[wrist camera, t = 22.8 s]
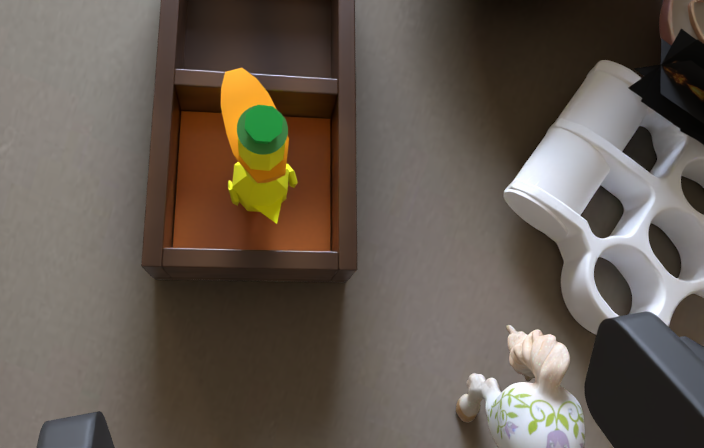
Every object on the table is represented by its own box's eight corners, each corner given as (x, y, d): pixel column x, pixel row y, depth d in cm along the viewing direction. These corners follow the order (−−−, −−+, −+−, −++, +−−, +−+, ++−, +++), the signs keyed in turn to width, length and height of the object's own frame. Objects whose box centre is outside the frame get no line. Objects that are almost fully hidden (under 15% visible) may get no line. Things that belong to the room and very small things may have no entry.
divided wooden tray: (153, 279, 36) (141, 266, 32) (176, -43, 41) (167, -90, 37) (346, 282, 38) (357, 270, 33) (344, -28, 43) (354, -72, 39)
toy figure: (209, 144, 37) (189, 39, 26) (267, 128, 38) (273, 18, 27) (245, 251, 36) (241, 190, 25) (304, 232, 37) (327, 164, 25)
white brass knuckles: (607, 42, 44) (777, 170, 44) (467, 239, 39) (657, 386, 39) (635, 15, 41) (819, 153, 41) (486, 226, 36) (694, 386, 36)
